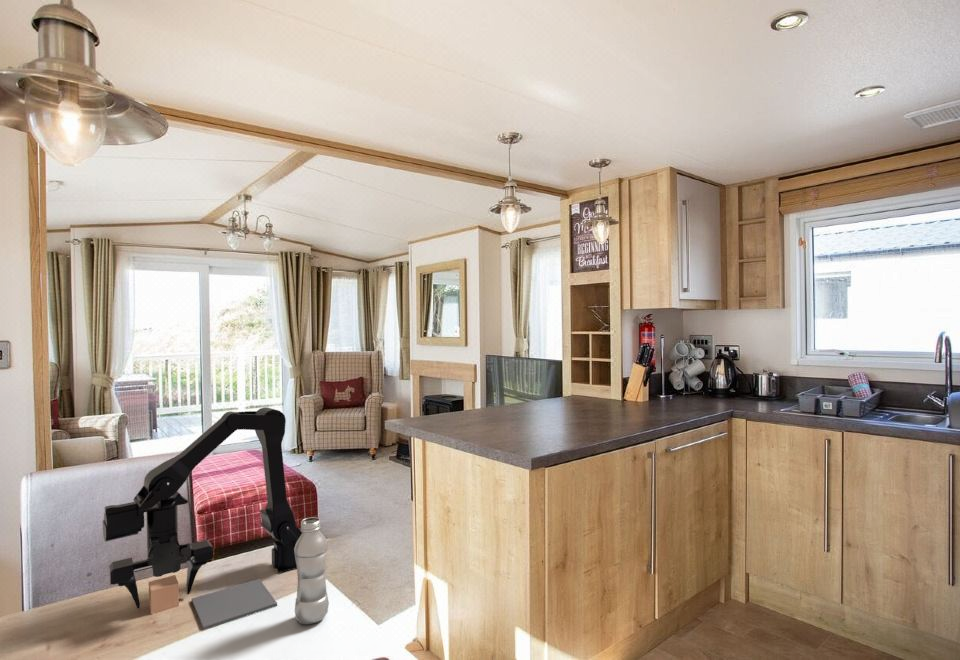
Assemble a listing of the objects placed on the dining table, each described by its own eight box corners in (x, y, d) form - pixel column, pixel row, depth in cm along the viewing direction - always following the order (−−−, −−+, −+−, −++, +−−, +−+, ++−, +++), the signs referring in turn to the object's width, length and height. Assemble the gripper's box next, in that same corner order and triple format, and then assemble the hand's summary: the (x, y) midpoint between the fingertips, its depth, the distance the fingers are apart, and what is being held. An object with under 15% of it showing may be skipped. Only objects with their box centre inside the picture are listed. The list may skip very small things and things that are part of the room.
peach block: (175, 597, 115) (175, 574, 115) (178, 606, 111) (178, 583, 111) (149, 605, 112) (148, 581, 112) (151, 614, 108) (150, 590, 108)
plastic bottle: (287, 624, 103) (285, 523, 103) (313, 607, 109) (311, 512, 109) (311, 632, 100) (309, 529, 100) (336, 614, 106) (334, 517, 106)
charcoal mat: (259, 581, 121) (259, 578, 121) (277, 605, 110) (277, 603, 110) (191, 601, 113) (191, 598, 113) (203, 630, 102) (203, 626, 102)
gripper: (110, 552, 99) (112, 633, 99) (218, 528, 111) (219, 601, 111) (108, 534, 108) (110, 609, 108) (208, 514, 119) (209, 581, 119)
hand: (163, 600), depth 111 cm, fingers open, 9 cm apart
